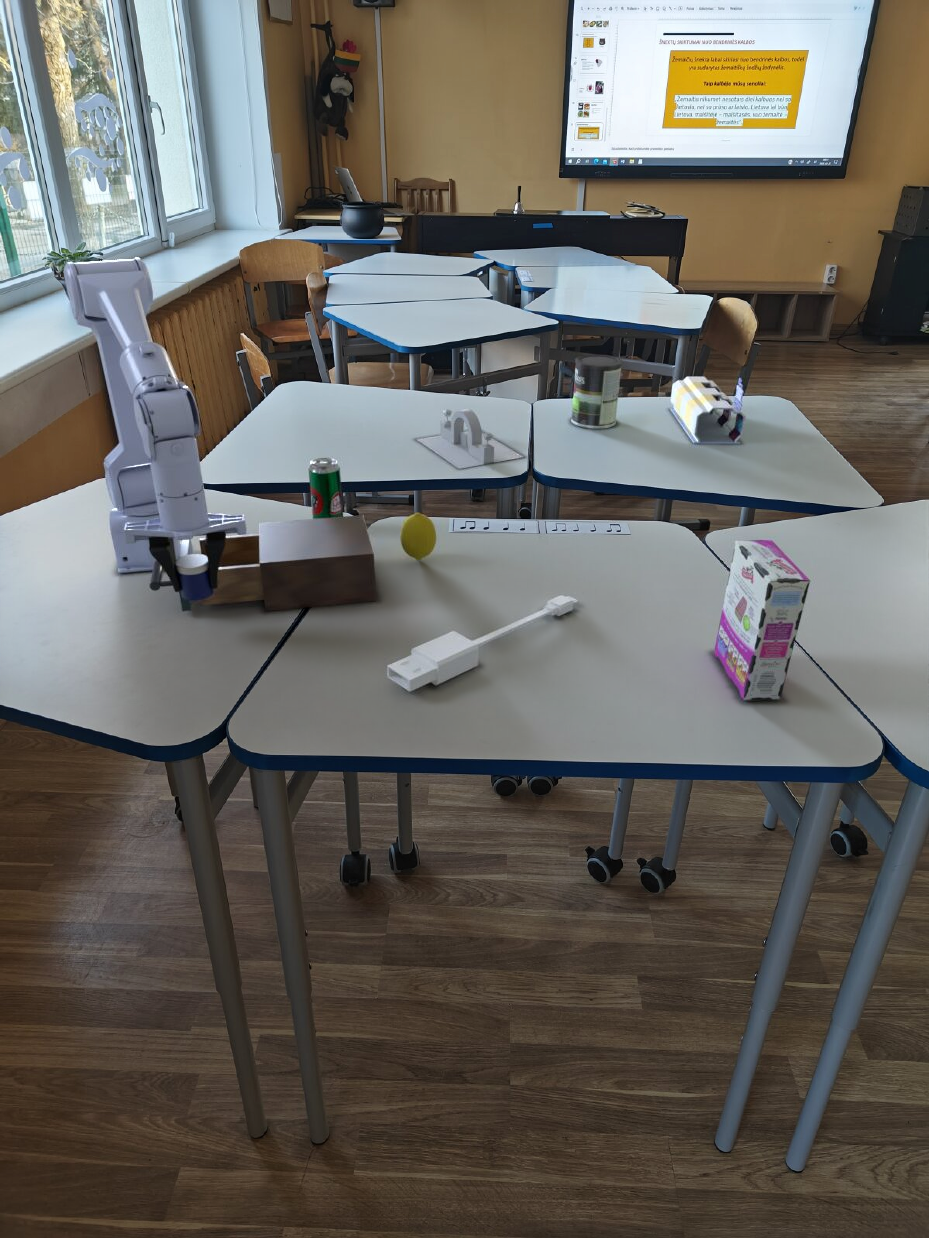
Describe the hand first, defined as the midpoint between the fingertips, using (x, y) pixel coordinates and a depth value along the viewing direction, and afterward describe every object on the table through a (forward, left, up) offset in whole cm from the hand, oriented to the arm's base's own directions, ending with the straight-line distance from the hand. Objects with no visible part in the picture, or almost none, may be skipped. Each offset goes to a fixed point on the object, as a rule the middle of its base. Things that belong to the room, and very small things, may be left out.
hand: (196, 586), depth 112 cm
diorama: (+107, +71, -7) cm, 128 cm away
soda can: (+19, +30, -7) cm, 36 cm away
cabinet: (+16, +11, -7) cm, 21 cm away
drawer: (+2, +11, -6) cm, 13 cm away
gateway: (+51, +66, -7) cm, 84 cm away
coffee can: (+83, +78, -7) cm, 114 cm away
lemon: (+32, +16, -7) cm, 36 cm away
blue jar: (0, 0, -1) cm, 1 cm away
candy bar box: (+67, -24, -7) cm, 72 cm away
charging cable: (+37, -11, -7) cm, 39 cm away
